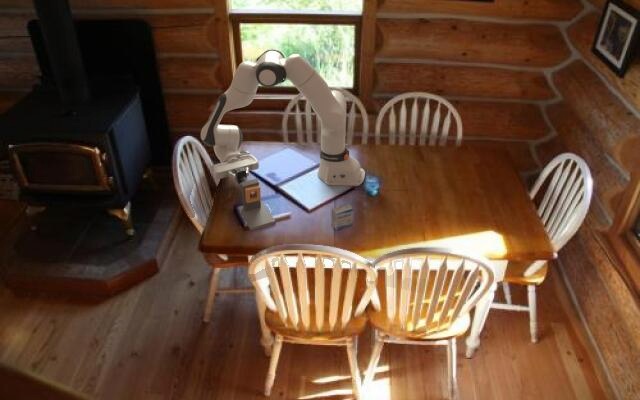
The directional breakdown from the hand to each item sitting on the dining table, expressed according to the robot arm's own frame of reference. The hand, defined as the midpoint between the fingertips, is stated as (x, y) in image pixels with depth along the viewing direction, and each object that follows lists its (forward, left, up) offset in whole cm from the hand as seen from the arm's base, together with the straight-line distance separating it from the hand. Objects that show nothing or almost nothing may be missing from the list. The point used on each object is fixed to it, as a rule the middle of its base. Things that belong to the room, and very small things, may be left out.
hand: (241, 176), depth 227 cm
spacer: (-9, +10, -4) cm, 14 cm away
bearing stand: (-10, +12, -11) cm, 19 cm away
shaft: (-4, +5, -3) cm, 7 cm away
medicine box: (-47, +9, -11) cm, 49 cm away
